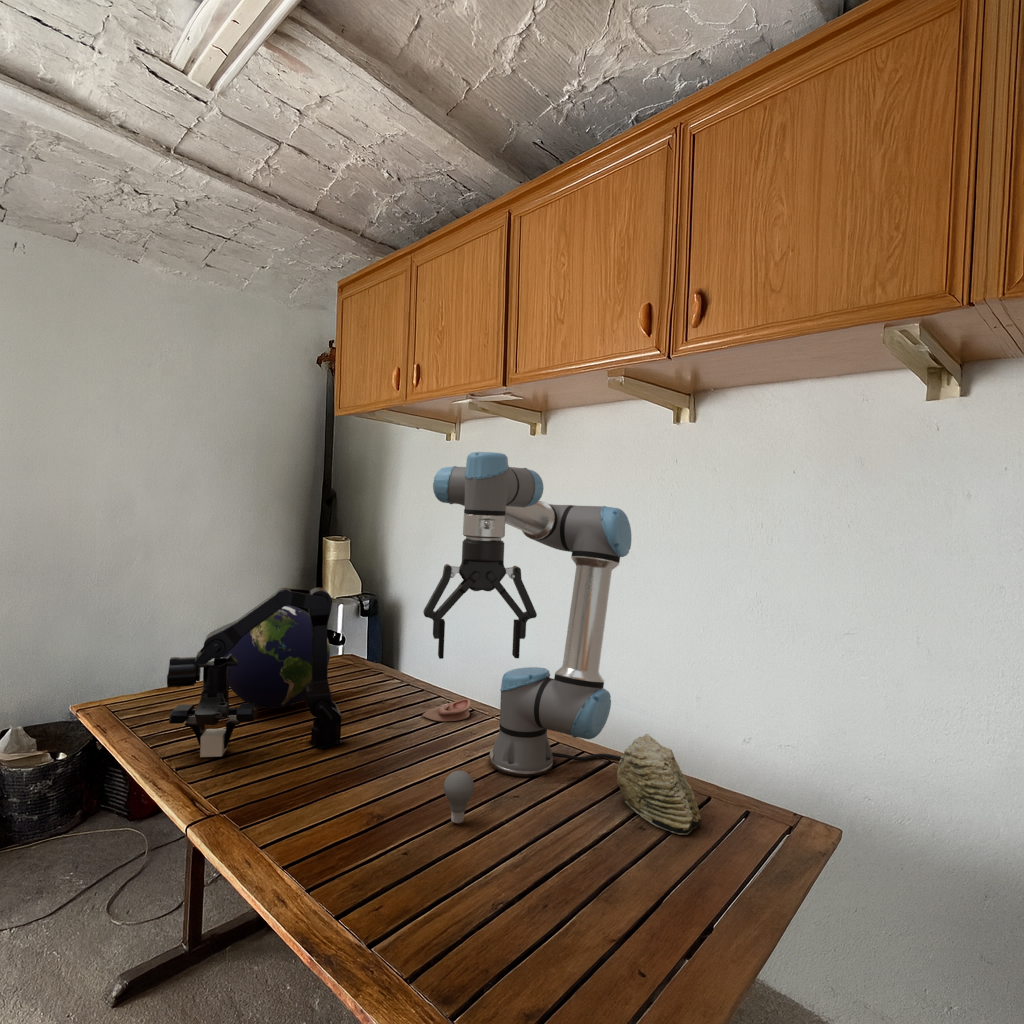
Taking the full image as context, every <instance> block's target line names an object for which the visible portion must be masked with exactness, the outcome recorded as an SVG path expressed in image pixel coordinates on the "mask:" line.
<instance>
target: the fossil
mask: <svg viewBox="0 0 1024 1024" xmlns="http://www.w3.org/2000/svg"><path fill="white" fill-rule="evenodd" d="M620 756H621V758H622V759H620V760H618V767H617V768H618V769H617V773H616V777H617V780H616V783H617V784H618V786H619V790H620V791H621V793H622V796H623V797H624V799H625V801H624V803H626V805H627V806H628V807H629V808H630V809H631V810H633V812H634V813H636V814H637V815H639V816H640V817H641V818H643V819H644V820H645V821H646V822H648V823H649V824H651V825H653V826H655V827H656V828H659V829H662V830H664V831H668V832H670V833H672V834H676V835H682V836H684V835H686V836H687V835H688V834H690V833H691V832H692V831H693V830H694V829H696V828H697V827H698V826H699V825H700V824H701V823H702V817H701V815H700V809H699V807H698V802H697V800H696V797H695V793H694V791H693V789H692V786H691V785H690V784H689V782H688V780H687V778H686V775H685V774H684V773H683V771H682V770H681V767H680V765H679V763H678V761H677V760H676V757H675V755H674V752H673V750H672V749H671V748H670V747H669V748H668V747H666V746H663V745H662V744H660V743H659V742H658V741H657V740H656V739H655V738H653V736H651V735H650V734H649V733H645V734H644V735H642V736H638V737H637V738H635V739H634V740H633V741H632V743H631V744H630V745H628V747H627V748H625V750H624V751H623V754H622V755H620Z"/></svg>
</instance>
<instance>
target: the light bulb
mask: <svg viewBox="0 0 1024 1024" xmlns="http://www.w3.org/2000/svg"><path fill="white" fill-rule="evenodd" d="M474 790H475V782H474V779H473V777H472V776H471V775H470V774H469V773H468V772H467V771H465V770H455V771H452V772H450V774H448V775H447V777H446V778H445V780H444V782H443V792H444V796H445V798H446V799H447V801H448V803H449V809H450V811H451V813H450V814H451V818H450V821H451V822H452V823H455V824H460V823H463V822H464V821H465V811H466V809H467V805H468V803H469V801H470V800H471V797H472V796H473V794H474Z"/></svg>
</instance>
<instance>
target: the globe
mask: <svg viewBox="0 0 1024 1024" xmlns="http://www.w3.org/2000/svg"><path fill="white" fill-rule="evenodd" d="M330 649H331V648H330V641H329V638H328V637H327V664H328V665H329V663H330V656H331V655H330V654H331V650H330ZM230 654H232V655H233V657H235V658H236V659H237V660H238V665H236V666H230V667H229V689H231V691H232V692H233V693H234V694H235V695H236V696H237V697H238V698H239V699H240V700H242V701H244V702H245V703H256V704H257V705H258V708H262V709H282V708H285V707H289V706H293V705H295V704H298V703H299V702H301V701H303V700H304V699H305V697H306V690H305V685H310V683H311V680H312V625H311V620H310V616H309V612H308V611H305V610H304V609H303V608H299V607H294V606H288V605H286V606H284V607H283V608H281V609H280V610H278V611H277V612H276V613H274V614H273V615H271V616H270V617H269V618H267V619H266V620H264V621H263V622H262V623H260V624H259V625H258V626H256V627H255V628H253V629H252V630H251V631H249V632H248V633H246V634H245V635H244V636H243V637H242V638H241V639H240V641H239V642H238V643H237V644H236V645H235V646H234V647H233V648H232V649H231V650H230V651H229V652H228V653H227V654H226V655H225V656H223V657H221V658H226V657H228V656H229V655H230Z"/></svg>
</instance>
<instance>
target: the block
mask: <svg viewBox="0 0 1024 1024" xmlns="http://www.w3.org/2000/svg"><path fill="white" fill-rule="evenodd" d="M225 732H226V728H206V729H205V732H204V733H203V734H202V736H201V745H199V748H200V749H199V758H214V757H215V758H217V757H220V758H221V757H223V756H224V754H225V752H226V751H227V749H228V747H227V748H226V749H224V740H225Z"/></svg>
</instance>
